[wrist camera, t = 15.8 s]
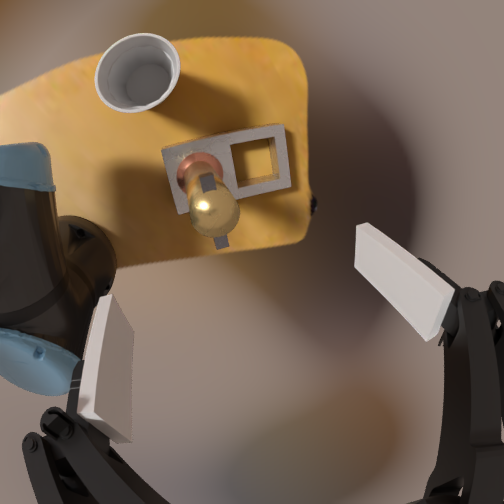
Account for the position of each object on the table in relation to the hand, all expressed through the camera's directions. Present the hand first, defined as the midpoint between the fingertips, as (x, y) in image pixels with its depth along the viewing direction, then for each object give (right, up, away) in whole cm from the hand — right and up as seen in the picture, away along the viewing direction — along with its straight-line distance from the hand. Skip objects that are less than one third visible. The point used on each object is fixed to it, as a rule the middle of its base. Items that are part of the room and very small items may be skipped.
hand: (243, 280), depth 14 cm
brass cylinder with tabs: (-6, +11, +20) cm, 24 cm away
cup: (-13, +23, +15) cm, 30 cm away
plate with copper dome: (-3, +14, +23) cm, 27 cm away
